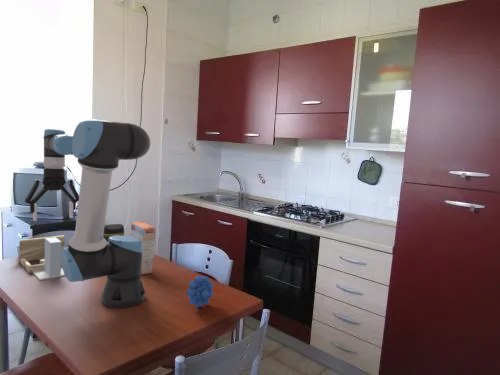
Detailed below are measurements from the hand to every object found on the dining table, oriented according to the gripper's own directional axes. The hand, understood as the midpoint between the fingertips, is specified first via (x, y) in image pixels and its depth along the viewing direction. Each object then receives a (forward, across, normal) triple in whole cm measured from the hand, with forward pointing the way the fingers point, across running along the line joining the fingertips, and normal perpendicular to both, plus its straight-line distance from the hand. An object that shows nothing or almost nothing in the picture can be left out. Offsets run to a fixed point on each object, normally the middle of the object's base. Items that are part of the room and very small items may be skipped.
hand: (53, 219), depth 147 cm
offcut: (+22, -2, -11) cm, 25 cm away
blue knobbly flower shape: (+24, -32, +60) cm, 73 cm away
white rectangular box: (+23, 0, -1) cm, 23 cm away
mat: (+24, 0, -1) cm, 24 cm away
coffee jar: (+24, -26, -2) cm, 35 cm away
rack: (+23, -2, -15) cm, 28 cm away
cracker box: (+24, -33, +13) cm, 43 cm away
